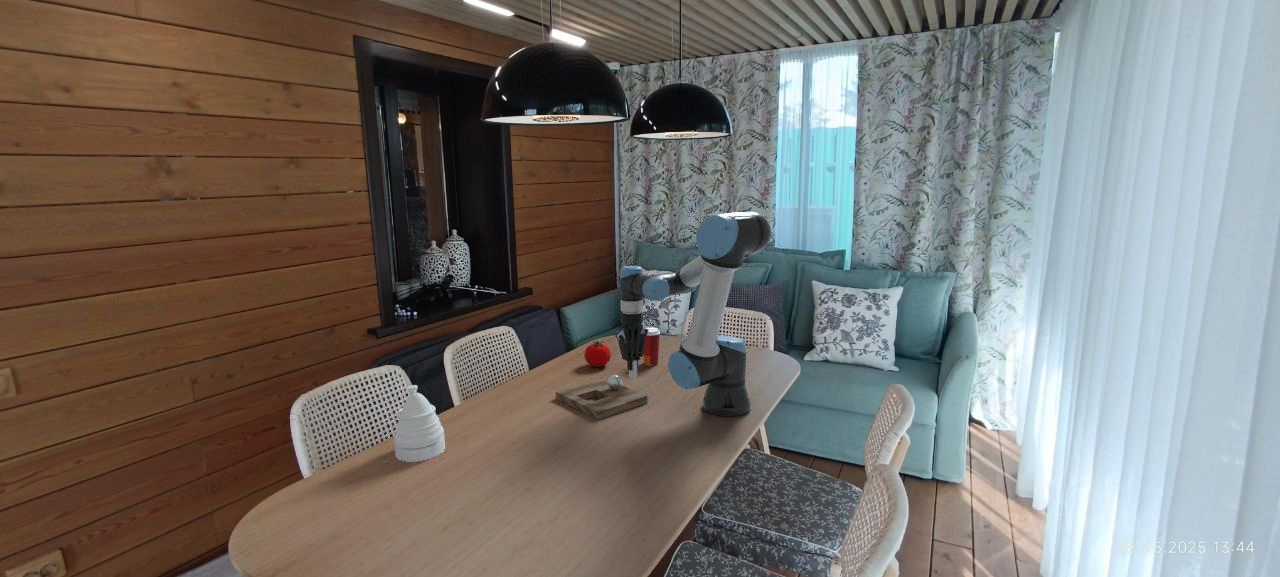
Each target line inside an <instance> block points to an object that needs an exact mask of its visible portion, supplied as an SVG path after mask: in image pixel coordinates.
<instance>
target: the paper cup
mask: <svg viewBox="0 0 1280 577" xmlns="http://www.w3.org/2000/svg"><path fill="white" fill-rule="evenodd" d="M644 328H645V329H648V333H647V335H646V341H645V347H644V353H643V357H642V359H643V365H644V366H646V367H655V366H658V364H659V352H660V351H659V349H660V348H659V347H660V334H661V331H660V328H657V327H644Z"/></svg>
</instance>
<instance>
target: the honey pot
mask: <svg viewBox="0 0 1280 577" xmlns="http://www.w3.org/2000/svg"><path fill="white" fill-rule="evenodd" d="M417 391H418V385H417V384H414V385H413V384H411V385H408V386H407V392H409V393H410V394H411V395H409V396H408V398H407V399H406V400H405V403H404V405H403V406H402V407H401V408H400V409H398V410H397V411H396V414H395V415H396V417H397V418H398V422H397V423H396V429H395V433H394V436H393V441H394V442H393V444H394V452H395V453H394V454H395V458H396V459H397V458H398V459H397V460H399V461H401V460H402V461H401V462H404V461H406V462H405V463H416V462H424V461H427V459H428V460H431V459H433V457H434V458H435V456H436V457H438V456H439V454H440V453H441V454H443V452H444V451H445V450H446V442H445V440H446V439H445V438H446V437H445V429H444V427H443V426H442V422H441V421H440V418H439V416H438V415H437V413H436V406H434V405H433V404H431V403H430V402H429V400H428V398H426V397H425V396H424V395H423V394H422V393H420V392H417ZM444 449H445V450H444ZM441 454H440V455H441ZM437 455H438V456H437ZM423 460H424V461H423Z"/></svg>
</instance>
